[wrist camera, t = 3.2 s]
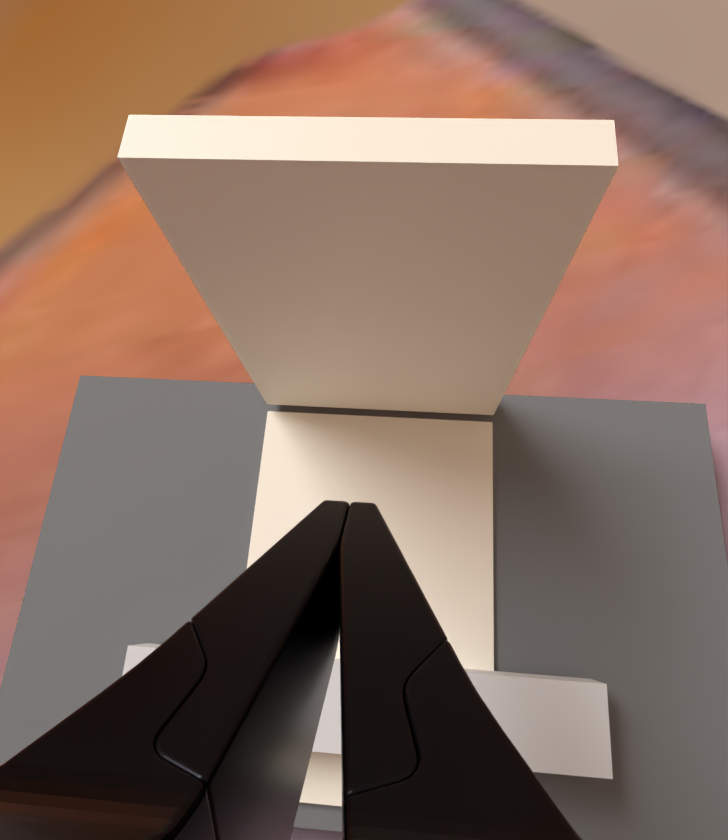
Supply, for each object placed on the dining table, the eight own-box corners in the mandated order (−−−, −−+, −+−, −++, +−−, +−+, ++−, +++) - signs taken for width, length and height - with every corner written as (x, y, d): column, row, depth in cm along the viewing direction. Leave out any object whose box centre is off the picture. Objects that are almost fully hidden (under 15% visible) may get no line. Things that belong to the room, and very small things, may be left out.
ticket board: (723, 843, 15) (812, 904, 12) (21, 773, 17) (-68, 811, 13) (674, 424, 19) (731, 386, 16) (109, 397, 20) (56, 357, 17)
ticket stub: (493, 415, 17) (618, 165, 8) (267, 404, 17) (117, 157, 8) (493, 387, 17) (613, 114, 8) (270, 377, 18) (130, 109, 8)
